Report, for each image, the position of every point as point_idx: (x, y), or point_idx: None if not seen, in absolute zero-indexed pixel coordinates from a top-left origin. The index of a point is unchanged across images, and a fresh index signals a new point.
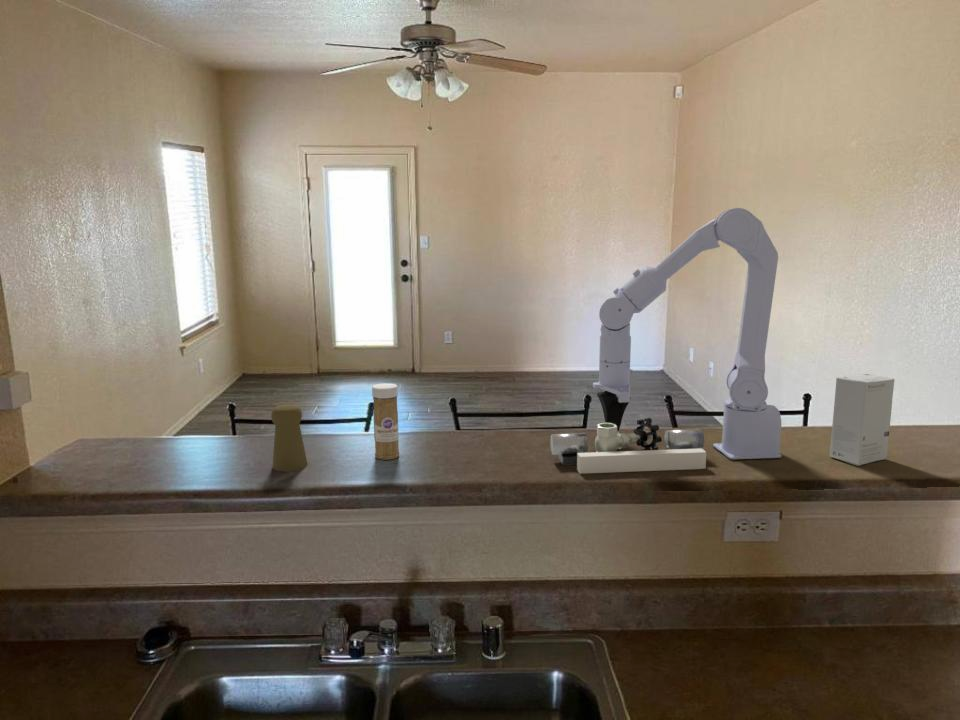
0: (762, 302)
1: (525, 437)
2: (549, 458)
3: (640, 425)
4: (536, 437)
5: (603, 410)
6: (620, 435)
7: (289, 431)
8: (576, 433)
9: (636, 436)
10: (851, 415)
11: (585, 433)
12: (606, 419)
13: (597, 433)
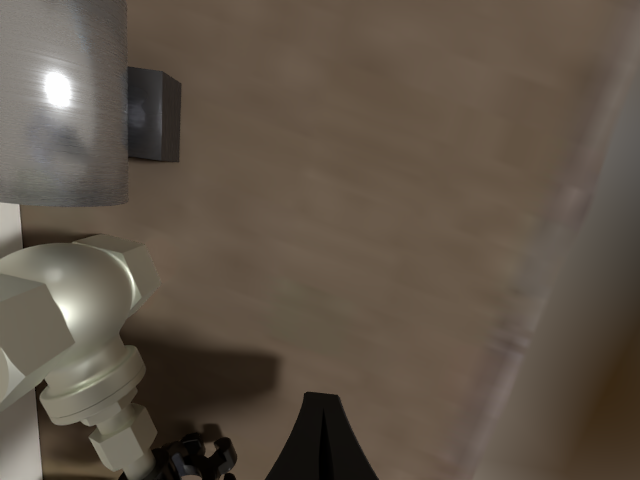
0: None
1: (520, 10)
2: (172, 35)
3: None
4: (498, 72)
5: (357, 473)
6: (47, 396)
7: None
8: (5, 138)
9: (104, 462)
10: None
11: (1, 200)
12: (302, 430)
13: (8, 278)
